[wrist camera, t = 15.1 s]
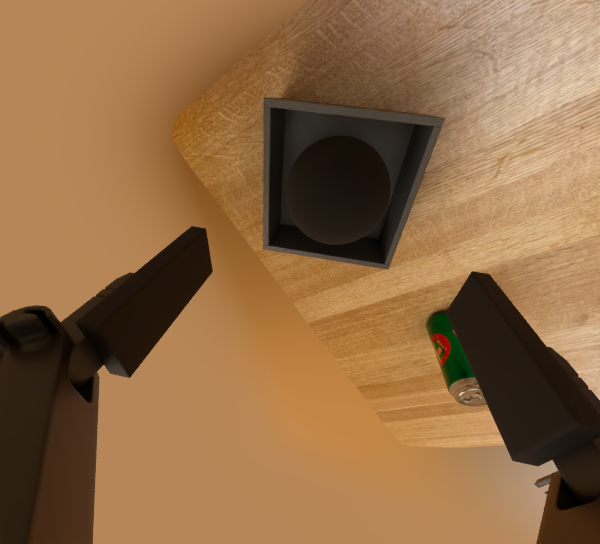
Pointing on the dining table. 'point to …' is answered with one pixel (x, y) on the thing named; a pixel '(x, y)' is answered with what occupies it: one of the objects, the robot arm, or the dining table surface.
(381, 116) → the grey bin
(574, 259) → the dining table surface
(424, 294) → the dining table surface
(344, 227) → the decorative ball
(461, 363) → the soda can
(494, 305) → the robot arm
